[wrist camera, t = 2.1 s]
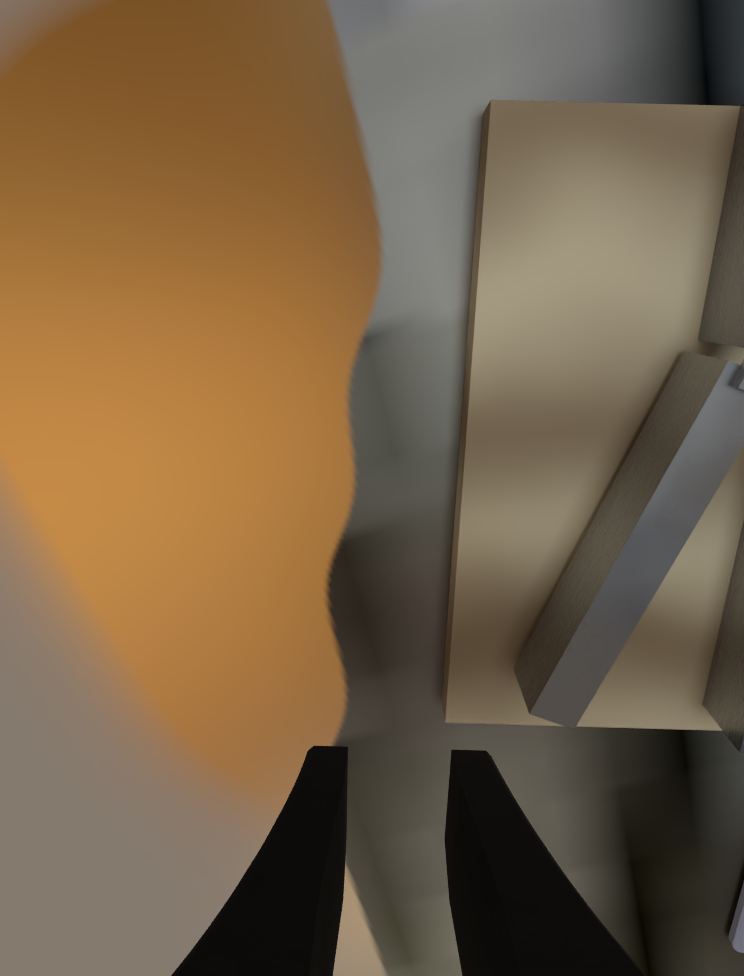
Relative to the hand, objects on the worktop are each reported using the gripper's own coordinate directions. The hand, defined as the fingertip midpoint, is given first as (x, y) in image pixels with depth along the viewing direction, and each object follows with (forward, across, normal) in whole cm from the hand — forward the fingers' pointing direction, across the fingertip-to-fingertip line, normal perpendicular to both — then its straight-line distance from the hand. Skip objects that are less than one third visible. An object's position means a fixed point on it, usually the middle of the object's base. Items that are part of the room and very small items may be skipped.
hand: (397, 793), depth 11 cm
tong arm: (+8, -8, -3) cm, 12 cm away
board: (+9, -8, -4) cm, 13 cm away
